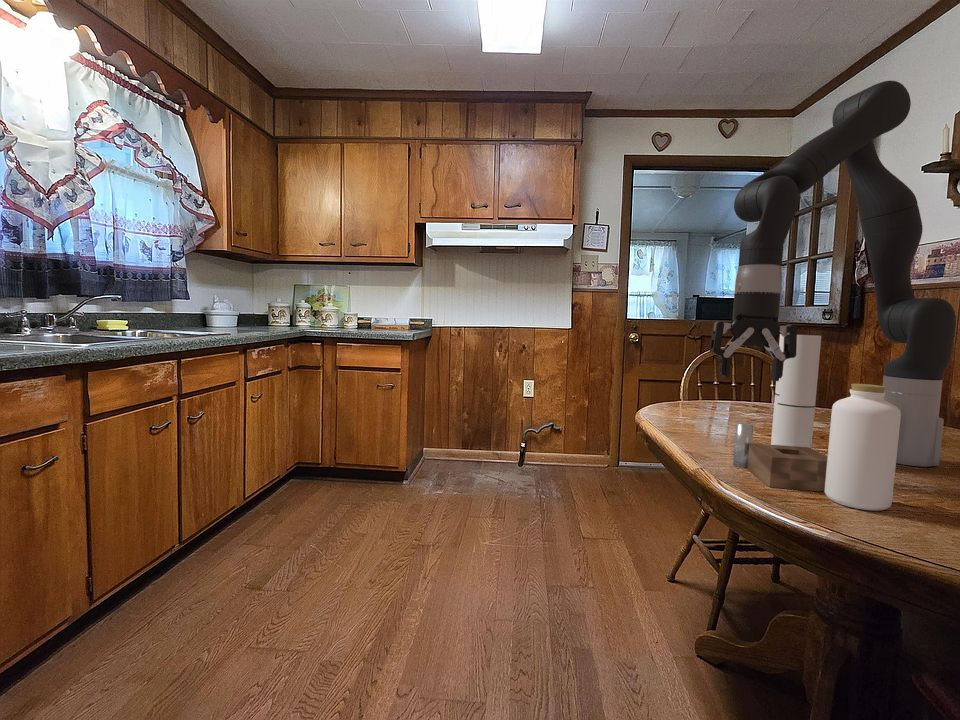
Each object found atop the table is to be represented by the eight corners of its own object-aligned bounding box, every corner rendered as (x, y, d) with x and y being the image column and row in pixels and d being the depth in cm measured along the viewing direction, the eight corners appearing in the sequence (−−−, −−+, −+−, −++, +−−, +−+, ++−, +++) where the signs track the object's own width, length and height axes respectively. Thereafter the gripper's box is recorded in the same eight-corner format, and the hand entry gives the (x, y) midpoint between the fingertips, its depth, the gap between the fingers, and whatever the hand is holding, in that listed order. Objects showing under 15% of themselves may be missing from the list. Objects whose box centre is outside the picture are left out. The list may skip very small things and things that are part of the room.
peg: (747, 464, 99) (750, 422, 99) (753, 468, 96) (756, 425, 96) (730, 463, 100) (733, 421, 99) (735, 467, 97) (739, 424, 96)
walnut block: (806, 474, 94) (808, 447, 93) (835, 492, 84) (838, 461, 83) (747, 470, 95) (749, 443, 95) (769, 487, 85) (772, 457, 85)
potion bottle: (895, 517, 73) (908, 390, 72) (824, 504, 78) (835, 384, 76) (887, 501, 80) (899, 385, 79) (823, 490, 85) (833, 380, 83)
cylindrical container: (799, 453, 110) (809, 335, 108) (817, 462, 103) (829, 336, 101) (764, 450, 111) (773, 333, 109) (779, 459, 104) (790, 334, 102)
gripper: (789, 294, 98) (781, 379, 99) (710, 291, 100) (703, 375, 101) (809, 291, 91) (800, 384, 92) (722, 288, 92) (715, 379, 94)
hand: (749, 379), depth 96 cm, fingers open, 8 cm apart
